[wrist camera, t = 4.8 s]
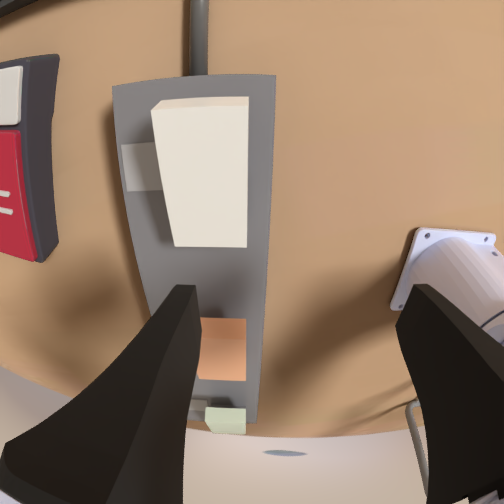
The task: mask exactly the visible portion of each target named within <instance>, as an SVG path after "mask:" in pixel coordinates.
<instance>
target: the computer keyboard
mask: <svg viewBox="0 0 504 504" xmlns="http://www.w3.org/2000/svg"><path fill="white" fill-rule="evenodd" d="M35 1H38V0H0V18H1V17H3V16H5V15H7V14H9V13H11V12H13V11H15V10H17V9H19V8H21V7H24V6H26V5H28V4H31V3H33V2H35Z"/></svg>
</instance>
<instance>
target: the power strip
mask: <svg viewBox="0 0 504 504" xmlns="http://www.w3.org/2000/svg"><path fill="white" fill-rule="evenodd" d="M208 12H209V0H190V31H189V76H185V77H174V78H164V79H156V80H148V81H141V82H134V83H128V84H122V85H117V86H112V95H113V110H114V123H115V133H116V143H117V152H118V160H119V167H120V174H121V181H122V188H123V194H124V200H125V206H126V211H127V217H128V222H129V227H130V232H131V237H132V242H133V246H134V251H135V255H136V260H137V264H138V268H139V272H140V276H141V280H142V284H143V288H144V292H145V296H146V299H147V303H148V307H149V310H150V314H151V317H152V315H153V314H154V313H155V311H156V310H157V309H158V307H159V306H160V305H161V303H162V302H163V301H164V299H165V298H166V297H167V295H168V294H169V293H170V291H171V290H172V288H173V287H174V286H175V285H176V284H183V285H196V291H197V298H198V306H199V313H200V317H204V318H234V319H246V381H230V380H208V379H199V377H198V375H197V373H196V377H195V382H194V387H193V392H192V397H191V402H190V407H189V412H188V417H187V420H194V421H205V410H206V407H214V408H237V409H246V423H257V410H258V398H259V385H260V372H261V358H262V344H263V329H264V314H265V299H266V283H267V266H268V249H269V231H270V212H271V192H272V171H273V148H274V123H275V95H276V75H258V74H223V75H208ZM200 97H249V119H248V208H247V248H241V247H175V245H174V240H173V236H172V231H171V226H170V222H169V217H168V212H167V207H166V202H165V196H164V191H163V186H162V180H161V174H160V169H159V163H158V157H157V150H156V144H155V137H154V130H153V123H152V116H151V110H152V109H153V108H154V107H155V106H156V105H157V104H158V103H159V102H160V101H161V100H171V99H184V98H200Z"/></svg>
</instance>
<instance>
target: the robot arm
mask: <svg viewBox="0 0 504 504" xmlns="http://www.w3.org/2000/svg"><path fill="white" fill-rule="evenodd" d="M426 233H428V234H427V235H426V236H425V234H426ZM495 240H496V236H495V234H494V233H487V232H476V231H464V230H451V229H438V228H424V227H421V228H419V229H417V230H416V232H415V235H414V238H413V241H412V244H411V248H410V251H409V254H408V257H407V260H406V263H405V266H404V268H403V271H402V274H401V277H400V280H399V282H398V285H397V288H396V290H395V293H394V296H393V298H392V301H391V303H390V308H391V310H393V311H396V310H402V312H401V314H400V317H399V319H398V321H397V323H396V325H395V327H396V331H397V336H398V340H399V344H400V348H401V351H402V354H403V357H404V360H405V362H406V365H407V368H408V371H409V373H410V376H411V379H412V382H413V384H414V387H415V390H416V393H417V396H418V399H419V402H420V406H421V409H422V414H423V419H424V425H425V430H426V438H427V448H428V465H429V466H428V467H429V477H428V494H427V502H426V504H453V503H456V502H458V501H461V500H463V499H465V498H467V497H468V500H469V504H504V256H503V255H502V254H501V253H500V252H499V251H498V250H497V249H496V248H495V247H494V246H493V245H494V243H495ZM201 336H202V327H201V320H200V313H199V306H198V298H197V291H196V285H183V284H176V285H175V286H174V287H173V288H172V290H171V291H170V293H169V294H168V295H167V297H166V298H165V299H164V301H163V302H162V303H161V305H160V306H159V307H158V309H157V310H156V311H155V313H154V314H153V315H152V317H151V318H150V319H149V320H148V322H147V323H146V324H145V325H144V327H143V328H142V329H141V330H140V332H139V333H138V334H137V335H136V337H135V338H134V339H133V340H132V341H131V342H130V343H129V345H128V346H127V347H126V348H125V349H124V350H123V351H122V353H121V354H120V355H119V356H118V357H117V358H116V359H115V360H114V361H113V362H112V363H111V364H110V366H109V367H108V368H107V369H106V370H105V371H104V372H102V373H101V374H100V375H99V376H98V377H97V378H96V379H95V380H94V381H93V382H92V383H91V384H90V385H89V386H87V387H86V388H85V389H84V390H83V391H82V392H81V393H80V394H78V395H77V396H76V397H75V398H74V399H72V400H71V401H70V402H69V403H67V404H66V405H65V406H63V407H62V408H61V409H59V410H58V411H57V412H55V413H54V414H52V415H51V416H50V417H48V418H47V419H45V420H44V421H43V422H41V423H40V424H38V425H36V426H35V427H33V428H31V429H30V430H28V431H26V432H25V433H23V434H21V435H19V436H18V437H16V438H14V439H12V440H10V441H8V442H7V443H5V446H4V449H3V452H2V455H1V458H0V504H183V465H184V447H185V446H184V445H185V433H186V424H187V417H188V412H189V407H190V402H191V397H192V392H193V387H194V382H195V377H196V373H197V368H198V363H199V357H200V347H201Z"/></svg>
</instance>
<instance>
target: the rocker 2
mask: <svg viewBox="0 0 504 504" xmlns="http://www.w3.org/2000/svg"><path fill="white" fill-rule="evenodd" d="M205 422H206V424H207V425H208V427H209V428H210V430H211V431H212V433H218V434H243V435H246V409H237V408H214V407H206V410H205Z"/></svg>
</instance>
